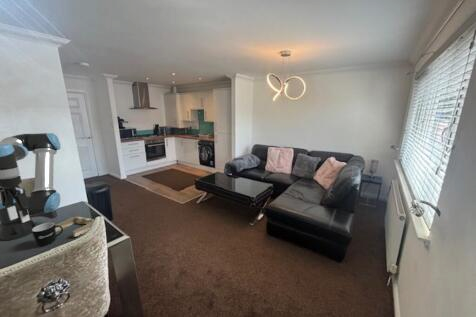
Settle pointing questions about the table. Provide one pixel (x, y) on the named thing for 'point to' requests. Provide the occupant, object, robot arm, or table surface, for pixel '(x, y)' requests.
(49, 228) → the mug
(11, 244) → the table surface
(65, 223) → the bay
